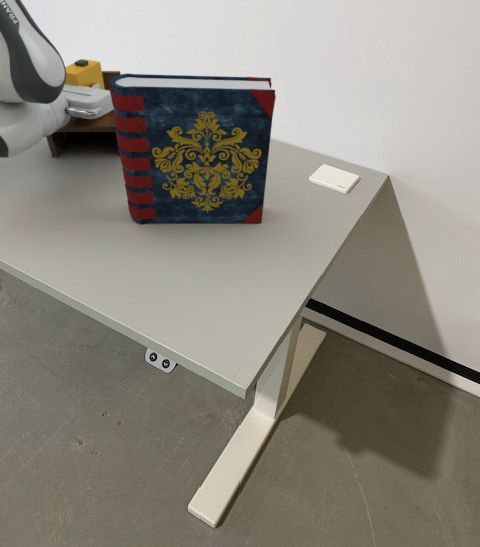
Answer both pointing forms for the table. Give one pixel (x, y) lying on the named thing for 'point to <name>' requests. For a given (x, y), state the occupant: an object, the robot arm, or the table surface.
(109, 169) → the table surface
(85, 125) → the shelf
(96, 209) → the table surface
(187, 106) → the book
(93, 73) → the tape measure
